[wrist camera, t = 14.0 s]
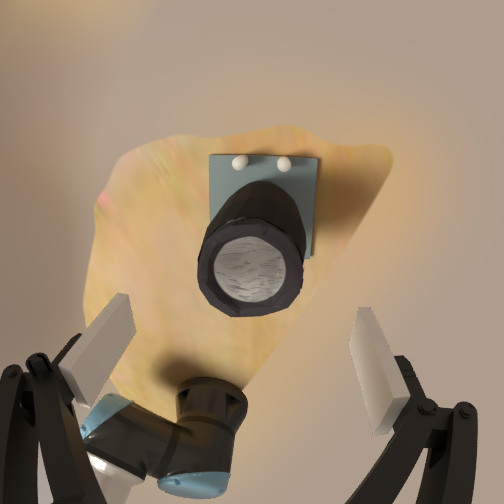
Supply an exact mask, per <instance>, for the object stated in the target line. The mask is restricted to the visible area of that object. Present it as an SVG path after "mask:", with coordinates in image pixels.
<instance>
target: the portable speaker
mask: <svg viewBox="0 0 504 504" xmlns="http://www.w3.org/2000/svg"><path fill="white" fill-rule="evenodd" d="M306 248H307V244H306V232H305V229H304V226H303V222H302V219H301V216H300V212H299V209H298V207H297V205H296V203H295V201H294V199H293V198H292V197H291V196H290V195H289V194H288V193H287V192H286V191H285V190H283V189H282V188H281V187H279V186H277V185H275V184H273V183H271V182H264V181H255V182H251V183H248V184H246V185H245V186H243V187H241V188H240V189H238V190H237V191H236V192H235V193H234V194H232V195H231V196H230V197H229V198H228V199H227V201H226V202H225V203H224V205H223V206H222V207H221V209H220V210H219V212H218V213H217V214H216V216H215V217H214V219H213V220H212V222H211V223H210V224H209V226H208V227H207V230H206V233H205V237H204V240H203V243H202V246H201V250H200V253H199V256H198V270H197V279H198V283H199V288H200V290H201V292H202V293H203V294H204V296H205V297H206V299H207V300H208V302H209V303H210V305H212V306H214V307H215V308H217V309H218V310H220V311H222V312H223V313H225V314H227V315H228V316H230V317H253V316H263V315H267V314H270V313H274V312H277V311H280V310H283V309H285V308H288V307H289V306H290V305H291V303H292V302H293V301H294V299H295V298H296V297H297V296H298V294H299V293H300V288H302V284H303V279H302V278H303V272H304V270H303V262H304V257H305V253H306Z"/></svg>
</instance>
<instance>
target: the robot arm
mask: <svg viewBox="0 0 504 504" xmlns="http://www.w3.org/2000/svg"><path fill="white" fill-rule="evenodd" d="M135 333H136V327H135V323H134V319H133V314H132V310H131V305H130V300H129V295H128V294H121V293H117V294H116V295H115V296H114V298H113V299H112V300H111V301H110V302H109V303H108V304H107V306H106V307H105V308H104V309H103V310H102V311H101V313H100V314H99V315H98V316H97V317H96V319H95V320H94V321H93V322H92V323H91V324H90V326H89V327H88V328H87V329H86V331H85V332H84V333H83V334H80V333H78V334H77V335H75V336H74V337H72V338H71V339H70V340H69V342H68V343H67V345H65V347H64V348H63V350H61V352H60V353H59V354H58V355H57V356H56V358H55V359H54V360H53V361H52V363H50V361H49V359H48V357H47V355H46V354H44V353H35V354H33V355H31V356H30V357H28V359H27V360H26V363H25V364H26V367H27V369H28V370H29V372H30V373H27V372H23V370H22V369H21V367H20V366H19V365H15V364H13V365H10V366H8V367H6V369H4V371H3V373H2V376H1V379H0V504H38V489H37V466H38V443H39V442H40V447H41V452H42V457H43V461H44V466H45V470H46V474H47V478H48V482H49V485H50V489H51V493H52V496H53V500H54V501H53V503H52V504H125V502H126V500H127V497H128V495H129V492H130V490H131V487H133V486H135V485H138V484H141V483H143V482H144V480H145V477H146V475H149V476H152V477H154V478H156V479H158V480H157V484H158V487H159V489H161V490H162V491H165V492H166V493H169V494H172V495H175V496H179V497H184V498H192V499H211V498H216V497H219V496H221V495H223V494H224V493H225V491H226V489H227V485H228V481H229V478H230V470H231V462H232V455H233V447H234V439H235V434H236V432H237V430H238V429H239V427H240V425H241V424H242V422H243V420H244V418H245V417H246V414H247V408H248V401H247V398H246V396H245V395H244V394H243V392H242V391H241V390H240V389H238V388H237V387H235V386H234V385H232V384H230V383H228V382H225V381H222V380H219V379H214V378H207V377H200V378H193V379H189V380H187V381H185V382H183V383H182V384H181V385H180V387H179V389H178V392H177V395H176V413H177V423H173V422H172V421H169V420H167V419H165V418H163V417H161V416H159V415H157V414H155V413H153V412H151V411H149V410H147V409H145V408H143V407H141V406H140V405H138V404H136V403H134V401H132V400H131V401H130V400H128V399H126V398H124V397H122V396H120V395H119V394H116V393H108V394H106V395H105V396H104V397H103V398H102V399H101V400H100V401H99V402H98V404H97V405H96V406H95V407H94V408H93V410H92V411H91V412H90V414H89V415H88V417H87V418H86V420H85V421H84V424H83V425H82V427H81V428H80V429H79V425H78V421H77V418H76V414H75V410H74V406H73V404H72V402H71V401H72V400H73V398H74V397H75V399H76V401H77V403H78V404H79V405H81V406H85V407H87V408H91V407H92V405H93V403H94V402H95V400H96V398H97V396H98V395H99V393H100V391H101V389H102V388H103V386H104V384H105V383H106V381H107V379H108V378H109V376H110V374H111V372H112V371H113V369H114V367H115V366H116V364H117V362H118V361H119V359H120V358H121V356H122V354H123V353H124V351H125V349H126V348H127V346H128V345H129V343H130V341H131V340H132V338H133V336H134V335H135ZM349 348H350V351H351V355H352V358H353V362H354V365H355V369H356V372H357V376H358V379H359V383H360V387H361V390H362V394H363V398H364V402H365V405H366V409H367V413H368V417H369V421H370V425H371V430H372V434H373V435H381V434H388V433H389V431H390V430H391V428H392V427H393V429H394V432H395V434H394V435H393V437H392V438H391V440H390V441H389V442H388V444H387V446H386V448H385V450H384V451H383V453H382V454H381V456H380V457H379V459H378V460H377V462H376V463H375V464H374V466H373V467H372V469H371V470H370V472H369V473H368V474H367V476H366V477H365V478H364V480H363V481H362V483H361V484H360V485H359V486H358V488H357V489H356V490H355V492H354V493H353V494H352V495H351V497H350V498H349V499H348V500H347V502H346V503H345V504H392V503H393V502H394V500H395V499H396V497H397V495H398V494H399V492H400V490H401V489H402V487H403V485H404V484H405V482H406V480H407V479H408V477H409V475H410V473H411V471H412V470H413V468H414V466H415V464H416V462H417V460H418V458H419V456H420V454H421V452H422V450H423V448H428V453H427V458H426V463H425V468H424V473H423V477H422V481H421V485H420V489H419V493H418V497H417V500H416V504H471V503H472V496H473V489H474V481H475V472H476V458H477V435H478V419H477V410H476V408H475V407H474V406H473V405H472V404H471V403H468V402H459V403H457V405H456V406H455V407H454V408H453V409H451V408H440V407H438V405H437V404H436V403H435V402H434V401H433V400H431V399H428V398H426V396H425V394H424V391H423V389H422V387H421V385H420V382H419V380H418V378H417V377H416V374H415V372H414V371H413V368H412V365H411V363H410V362H409V361H408V360H407V359H406V358H405V357H404V356H403V355H401V356H393V354H392V351H391V349H390V347H389V345H388V342H387V340H386V338H385V336H384V334H383V332H382V330H381V328H380V325H379V323H378V321H377V319H376V317H375V315H374V313H373V311H372V309H371V308H368V307H367V308H365V307H364V308H360V307H359V308H358V311H357V315H356V320H355V324H354V327H353V332H352V336H351V339H350V343H349Z"/></svg>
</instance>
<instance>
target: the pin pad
mask: <svg viewBox="0 0 504 504" xmlns="http://www.w3.org/2000/svg"><path fill="white" fill-rule="evenodd" d="M317 162H318V159H317V158H306V157H290V156H267V155H209V199H210V223H211V222H212V220H213V219H214V217H215V216H216V214H217V213H218V212H219V210H220V209H221V207H222V206H223V205H224V203H225V202H226V201H227V199H228V198H229V197H230V196H231V195H232V194H234V193H235V192H236V191H237V190H238V189H240V188H241V187H243V186H245V185H246V184H248V183H251V182H255V181H264V182H271V183H273V184H275V185H277V186H279V187H281V188H282V189H283V190H285V191H286V192H287V193H288V194H289V195H290V196H291V197H292V198H293V199H294V201H295V203H296V205H297V207H298V209H299V212H300V216H301V219H302V222H303V226H304V229H305V232H306V244H307V248H306V253H305V257H304V259H310V252H311V242H312V231H313V220H314V207H315V194H316V179H317Z"/></svg>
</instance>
